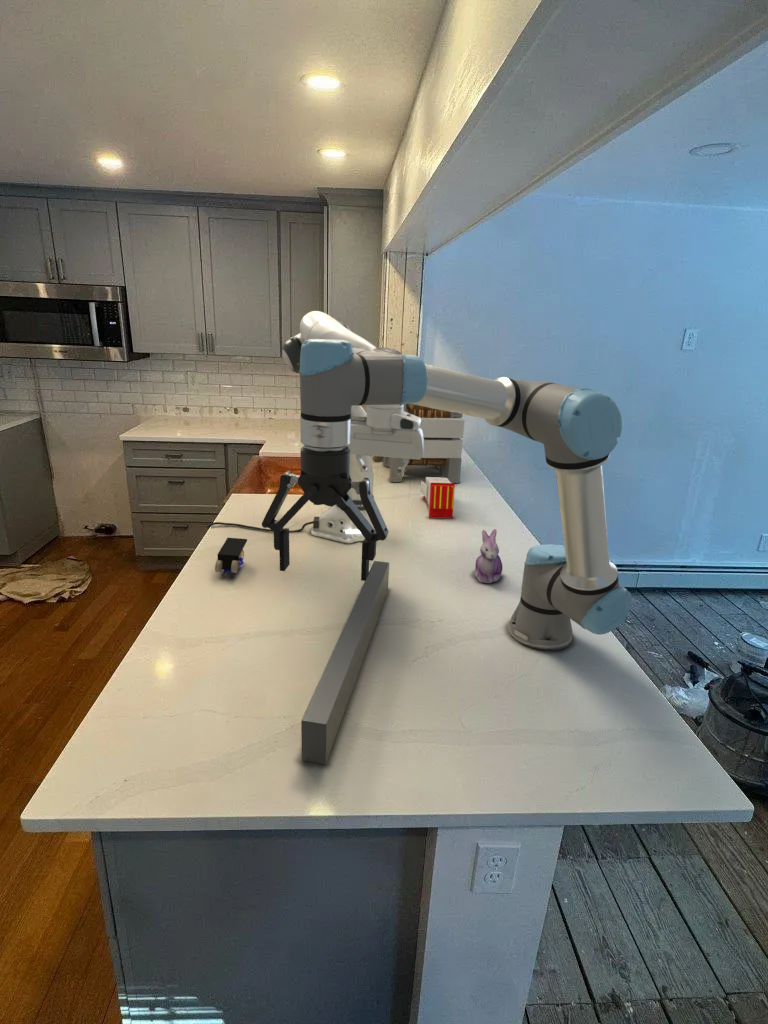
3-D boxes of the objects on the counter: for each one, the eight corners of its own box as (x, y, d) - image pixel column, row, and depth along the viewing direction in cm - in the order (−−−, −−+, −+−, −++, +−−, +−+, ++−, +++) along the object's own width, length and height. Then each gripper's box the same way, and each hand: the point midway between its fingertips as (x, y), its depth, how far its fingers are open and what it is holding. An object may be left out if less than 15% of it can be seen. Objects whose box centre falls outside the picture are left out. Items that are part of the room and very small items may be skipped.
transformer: (382, 463, 289) (386, 382, 275) (445, 464, 293) (451, 384, 279) (390, 482, 257) (394, 392, 243) (460, 483, 261) (468, 394, 247)
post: (372, 588, 161) (373, 560, 158) (388, 589, 160) (389, 562, 157) (301, 760, 99) (301, 720, 96) (325, 764, 98) (326, 724, 95)
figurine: (485, 587, 164) (491, 539, 159) (465, 572, 172) (469, 526, 167) (511, 581, 168) (517, 534, 163) (490, 567, 176) (495, 522, 171)
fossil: (371, 444, 309) (393, 428, 304) (382, 457, 312) (404, 442, 307) (367, 458, 290) (390, 442, 285) (378, 472, 293) (401, 456, 288)
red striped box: (448, 473, 241) (459, 484, 212) (446, 504, 244) (457, 519, 215) (419, 472, 241) (426, 483, 211) (418, 503, 243) (425, 518, 214)
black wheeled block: (238, 584, 162) (249, 557, 175) (236, 562, 158) (247, 536, 172) (215, 584, 161) (227, 556, 175) (212, 561, 158) (225, 535, 171)
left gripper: (339, 417, 135) (338, 473, 140) (424, 423, 132) (420, 480, 137) (345, 412, 141) (344, 466, 146) (427, 419, 138) (423, 473, 143)
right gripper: (237, 444, 84) (243, 573, 91) (403, 458, 81) (395, 591, 88) (256, 434, 91) (260, 554, 98) (410, 447, 88) (402, 571, 95)
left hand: (382, 473), depth 142 cm, fingers open, 8 cm apart
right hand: (324, 572), depth 93 cm, fingers open, 13 cm apart
